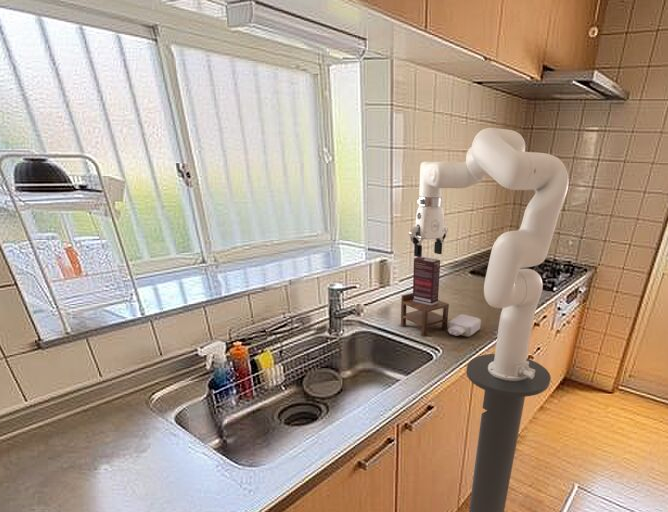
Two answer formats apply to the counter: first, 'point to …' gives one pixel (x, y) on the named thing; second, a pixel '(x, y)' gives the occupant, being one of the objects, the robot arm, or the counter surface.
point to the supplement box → (426, 280)
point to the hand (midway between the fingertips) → (428, 255)
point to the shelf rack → (423, 313)
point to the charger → (464, 325)
